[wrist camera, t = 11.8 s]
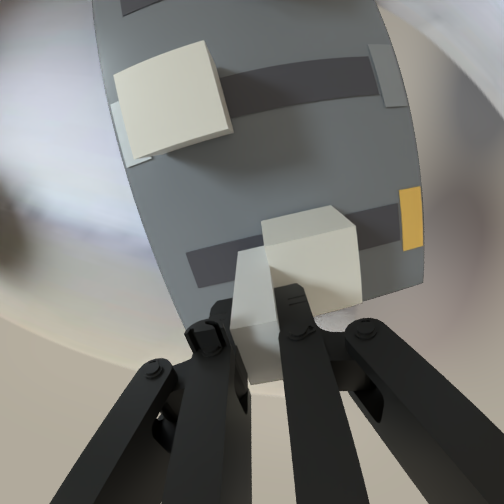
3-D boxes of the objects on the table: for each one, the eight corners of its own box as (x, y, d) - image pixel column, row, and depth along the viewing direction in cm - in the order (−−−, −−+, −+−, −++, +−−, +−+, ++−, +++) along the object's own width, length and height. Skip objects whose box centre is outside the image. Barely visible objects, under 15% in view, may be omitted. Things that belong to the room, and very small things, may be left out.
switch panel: (195, 319, 21) (189, 340, 19) (103, -15, 11) (89, -27, 8) (408, 268, 20) (424, 283, 17) (322, -63, 9) (329, -80, 7)
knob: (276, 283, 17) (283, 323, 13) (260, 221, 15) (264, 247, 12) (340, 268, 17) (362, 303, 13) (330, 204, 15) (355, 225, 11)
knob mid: (162, 154, 14) (133, 159, 10) (145, 89, 13) (113, 75, 9) (234, 132, 14) (228, 128, 10) (215, 65, 12) (203, 40, 8)
